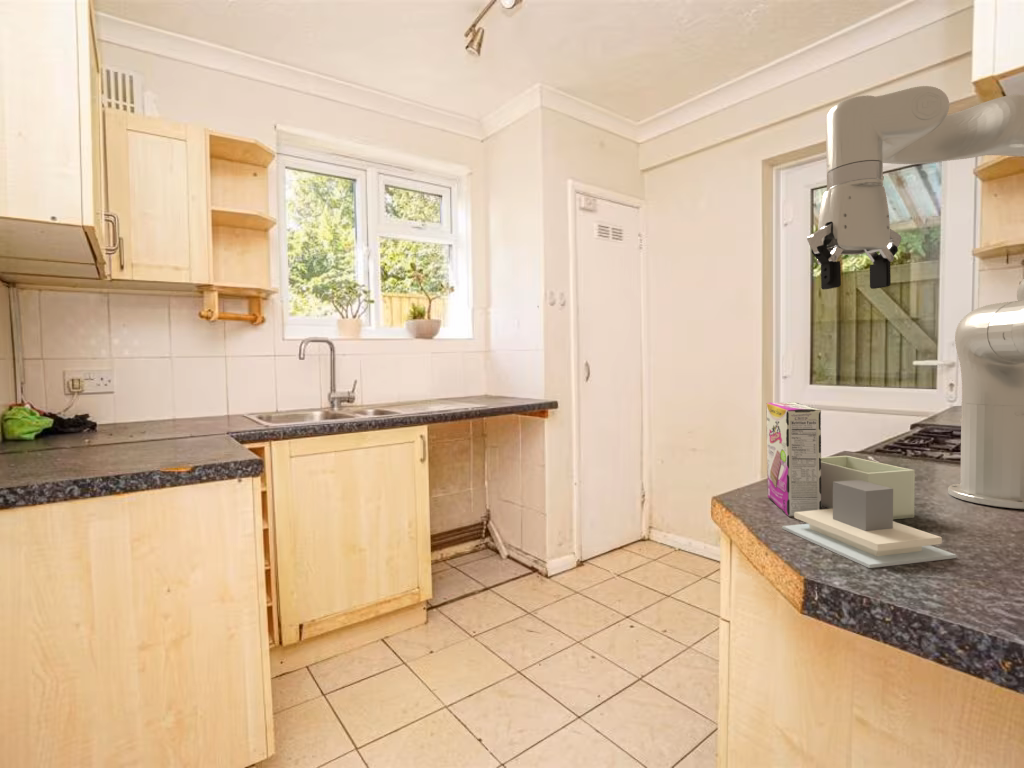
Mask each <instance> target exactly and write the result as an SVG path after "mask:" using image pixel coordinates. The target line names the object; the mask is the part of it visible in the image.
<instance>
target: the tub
mask: <svg viewBox="0 0 1024 768" xmlns="http://www.w3.org/2000/svg"><path fill="white" fill-rule="evenodd" d="M915 474H916V470H915V469H911V468H907V467H901V466H896V465H892V464H887V463H882V462H879V461H873V460H868V459H865V458H860V457H855V456H850V455H838V456H837V455H835V456H824V457H823V456H821V507H824V508H826V509H833V482H838V481H850V480H861V481H865V482H869V483H873V484H877V485H881V486H885V487H888V488H892V489H893V520H901V519H902V520H903V519H911V518H912V519H914V518H915V496H916V495H915V494H916V493H915V491H916V490H915V489H916V488H915V486H916V485H915V484H916V483H915V481H916V478H915V476H916V475H915Z"/></svg>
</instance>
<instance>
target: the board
mask: <svg viewBox="0 0 1024 768" xmlns="http://www.w3.org/2000/svg"><path fill="white" fill-rule="evenodd" d="M781 529H782V530H784V531H786V532H788V533H791V534H793V535H795V536H797V537H799V538H802V539H804V540H805V541H808V542H811V543H813V544H815V545H817V546H819V547H821V548H824V549H826V550H829V551H830V552H833V553H835V554H837V555H839V556H841V557H844V558H846V559H848V560H850V561H853V562H855V563H856V564H859V565H862V566H863V567H866V568H868V569H875V568H882V567H891V566H900V565H908V564H917V563H925V562H933V561H941V560H943V561H944V560H950V559H957V554H955V553H954V552H951V551H947V550H944V549H942V548H939V547H936V546H935V545H928V546H922V551H918V552H909V553H900V554H892V555H883V556H875V555H873V554H870V553H868V552H865V551H863V550H861V549H858V548H856V547H853V546H851V545H848V544H846V543H844V542H841V541H839V540H836V539H834V538H832V537H829V536H827V535H824V534H822V533H819V532H817V531H815V530H812V529H810V528H809V523H802V524H790V525H782V526H781Z"/></svg>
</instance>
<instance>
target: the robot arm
mask: <svg viewBox="0 0 1024 768" xmlns="http://www.w3.org/2000/svg"><path fill="white" fill-rule="evenodd" d="M949 110H950V100H949V97H948V95H947V94H946V93H945V92H944V91H943V90H942V89H940V88H938V87H936V86H931V85H930V86H929V85H921V86H919V85H918V86H913V87H910V88H909V87H908V88H905V89H902V90H901V89H900V90H897V91H893V92H891V93H885V94H880V95H877V96H874V95H869V94H868V95H866V94H865V95H859V96H854V97H851V98H847V99H845V100H842V101H840V102H838V103H836V104H835V105H834V106H833V107H832V108H831V109H830V110H829V111H828V113H827V114H826V117H825V147H826V148H825V149H826V150H825V151H826V153H825V154H826V156H825V158H826V190H825V192H823V194H822V197H821V202H820V206H819V212H818V213H819V214H818V215H819V216H818V223H817V224H818V226H817V230H816V231H814V232H813V233H811V234H809V235H807V238H806V240H807V242H808V245H809V246H810V248H811V254H812V255H813V256H814V257H815V258H816V263H817V265H820V289H821V290H831V289H836V288H840V287H841V284H842V281H841V280H842V278H841V277H842V270H841V261H840V260H839V257H840V256H841V255H842V256H843V255H847V256H848V255H849V256H850V255H853V256H854V255H863V254H866V255H867V256H868V258H869V259H870V261H871V262H872V264H870V265H869V287H870V289H873V290H874V289H875V290H877V289H881V288H886V287H887V288H888V287H890V286H891V285H892V283H891V278H892V277H891V262H893V261H894V259H895V255H896V254H897V253H898V251H899V246H900V244H901V241H902V236H901V235H900V234H899V233H897V232H896V231H895V230H893V229H891V227H890V226H891V224H890V223H891V221H890V213H889V204H888V198H887V194H886V193H887V192H886V189H885V186H883V185H884V180H885V177H884V167H883V165H884V164H892V165H893V164H894V165H896V164H897V165H923V164H933V163H940V162H941V163H942V162H947V161H956V160H967V159H973V158H978V157H985V156H1003V157H1005V156H1008V157H1024V94H1009V95H1006V96H1001V97H996V98H994V99H993V98H992V99H990V100H988V101H985V102H984V101H983V102H981V103H979V104H977V105H974V106H972V107H969V108H965V109H963V110H960V111H957V112H953V113H951V114H950V113H949V114H948V112H949ZM878 252H879V254H878ZM954 343H955V349H956V352H957V353H956V354H957V357H958V362H959V366H960V367H959V368H960V373H961V374H960V375H961V376H960V377H961V416H960V417H961V422H960V423H961V425H960V426H961V427H960V430H961V431H960V476H959V478H960V482H959V483H953V484H950V485H949V486H948V489H947V490H948V491H947V493H948V494H949V495H950V496H951V497H953V498H956V499H959V500H962V501H966V502H969V503H975V504H979V505H984V506H989V507H990V506H991V507H996V508H997V507H998V508H1005V509H1006V508H1007V509H1014V510H1015V509H1016V510H1017V509H1018V510H1024V278H1023V279H1022V280H1021V281H1020V283H1019V285H1018V288H1017V290H1016V300H1013V301H1006V302H999V303H997V302H996V303H992V304H988V305H987V304H986V305H983V306H981V307H978V308H976V309H974V310H972V311H970V312H969V313H967V314H966V315H964V316H963V318H962V319H961V320H960V321H959V323H958V325H957V327H956V329H955V334H954Z"/></svg>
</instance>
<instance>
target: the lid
mask: <svg viewBox="0 0 1024 768" xmlns="http://www.w3.org/2000/svg"><path fill="white" fill-rule="evenodd" d="M793 518H794V519H795V520H796V519H797V520H798V521H801V522H804V523H805V524H809V528H810V529H812V530H815V531H817V532H819V533H822V534H824V535H827V536H829V537H832V538H834V539H836V540H839V541H841V542H844V543H846V544H848V545H851V546H853V547H856V548H858V549H861V550H863V551H865V552H868V553H870V554H873V555H875V556H883V555H892V554H900V553H909V552H918V551H922V546H928V545H931V546H936V545H942V544H943V542H942V541H943V537H941V536H939V535H937V534H933V533H929V532H927V531H924V530H921V529H917V528H915V527H912V526H908V525H906V524H902V523H899V522H897V521H894V519H893V489H892V488H888V487H885V486H881V485H877V484H873V483H869V482H865V481H861V480H850V481H838V482H833V509H829V508H825V509H822V508H821V510H811V511H801V512H794V517H793Z"/></svg>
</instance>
